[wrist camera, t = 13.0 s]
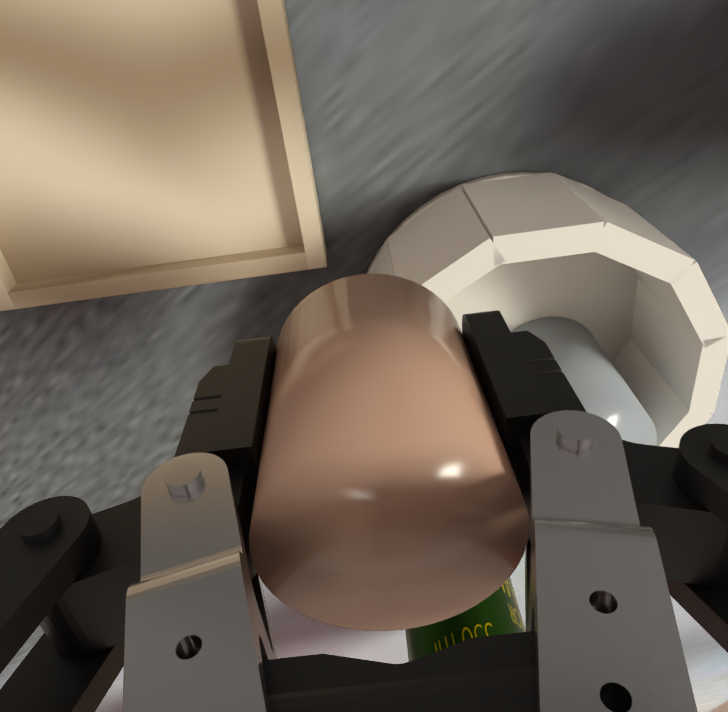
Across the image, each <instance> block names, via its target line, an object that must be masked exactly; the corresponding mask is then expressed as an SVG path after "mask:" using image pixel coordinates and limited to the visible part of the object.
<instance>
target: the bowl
mask: <svg viewBox="0 0 728 712" xmlns="http://www.w3.org/2000/svg"><path fill="white" fill-rule="evenodd" d="M366 274H387V275H393V276H398V277H402V278H405V279H408V280H411V281H413V282H416V283H418V284H420V285H422V286H424V287H425V288H427V289H428V290H430V291H432V292H433V293H434V294H435V295H437V296H438V297H439V298H440V299H441V300H442V301H443V302H444V303H445V304H446V305H447V306H448V308H449V309H450V310H451V312H452V313H453V315H454V316H455V318H456V320H457V322H458V325H459V327H460V329H461V332H462V316H463V314H470V313H479V312H487V311H496V310H499V311H500V312H501V314H502V316H503V318H504V320H505V322H506V324H507V326H508V328H509V330H510V332H512V331H513V330H514V329H516V328H517V327H519V326H521V325H522V324H524V323H527V322H529V321H531V320H535V319H538V318H543V317H552V316H554V317H565V318H569V319H572V320H575V321H577V322H579V323H581V324H582V325H584V326H585V327H586V328H587V329H588V330H589V331H590V332H591V334H592V335H593V336H594V338H595V339H596V341H597V342H598V344H599V345H600V346H601V348H602V349H603V351H604V352H605V354H606V355H607V356H608V358H609V359H610V361H611V362H612V364H613V365H614V366H615V368H616V369H617V371H618V372H619V374H620V375H621V376H622V378H623V379H624V381H625V382H626V384H627V385H628V387H629V388H630V389H631V391H632V392H633V394H634V395H635V397H636V398H637V399H638V401H639V402H640V404H641V405H642V407H643V408H644V409H645V411H646V412H647V414H648V415H649V417H650V418H651V419H652V421H653V423H654V425H655V428H656V432H657V444H656V446H663V447H673V448H678V447H679V442H680V439H681V437H682V436H683V434H684V433H685V432H687V431H688V430H689V429H691V428H693V427H696V426H700V425H704V424H705V423H706V422H707V421H708V420H709V419H710V418H711V416H712V413H714V411H715V407H716V402H717V398H718V394H719V390H720V386H721V381H722V377H723V373H724V369H725V364H726V360H727V356H728V324H727V322H726V320H725V318H724V316H723V314H722V312H721V310H720V308H719V306H718V304H717V302H716V300H715V298H714V296H713V294H712V292H711V290H710V288H709V286H708V284H707V281H706V279H705V277H704V275H703V273H702V271H701V269H700V267H699V265H698V263H697V262H696V261H695V260H694V259H693V258H692V257H690V256H689V255H688V254H687V253H685V252H684V251H683V250H682V249H681V248H679V247H678V246H677V245H676V244H674V243H673V242H672V241H671V240H669V239H668V238H667V237H666V236H664V235H663V234H662V233H661V232H659V231H658V230H657V229H656V228H654V227H653V226H652V225H651V224H649V223H648V222H647V221H646V220H644V219H643V218H642V217H641V216H639V215H638V214H637V213H636V212H635V211H633V210H632V209H631V208H630V207H628V206H627V205H625V204H623V203H621V202H618V201H616V200H614V199H612V198H609V197H607V196H605V195H603V194H602V193H601V192H599V191H597V190H595V189H593V188H592V187H590V186H588V185H586V184H584V183H581V182H579V181H576V180H573V179H570V178H567V177H564V176H560V175H558V174H556V173H553V174H552V173H551V172H549V173H542V172H526V171H522V172H509V173H499V174H495V175H490V176H485V177H480V178H477V179H474V180H471V181H468V182H465V183H462V184H459V185H457V186H455V187H453V188H451V189H449V190H447V191H445V192H443V193H440V194H439V195H437V196H435V197H434V198H432V199H431V200H429V201H428V202H426V203H424V204H423V205H421V206H420V207H419V208H418V209H416V210H415V211H414V212H413V213H411V214H410V215H409V216H408V217H407V218H405V219H404V220H403V221H402V222H401V223H400V224H399V225H398V227H397V228H396V229H395V230H394V231H393V232H392V233H391V234H390V235H389V236H388V238H387V239H386V240H385V242H384V243H383V245H382V246H381V247H380V249H379V250H378V252H377V253H376V255H375V257H374V259H373V261H372V263H371V264H370V266H369V268H368V271H367V273H366Z"/></svg>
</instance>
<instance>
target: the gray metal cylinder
mask: <svg viewBox="0 0 728 712" xmlns="http://www.w3.org/2000/svg"><path fill="white" fill-rule="evenodd" d="M519 331H529V332H530V333H532V334H534V335H535V336H537V337H538V338H540V339H541V340H543V341H544V342H545V343H546V344H547V346H548V348H549V349H550V351H551V353H552V354H553V356H554V360H556V361H557V363H558V364H559V366H560V368H561V372H563V373H564V375H565V376H566V378H567V380H568V381H569V383H570V385H571V386H572V388H573V390H574V391H575V393H576V395H577V396H578V398H579V400H580V401H581V403H582V405H583V407H584V408H585V410H586V412H588V413H591V414H594V415H597V416H599V417H601V418H603V419H605V420H607V421H608V422H610V423H611V424H612V425H613V426H614V427H615V428H616V429H617V430H618V432H619V433H620V436H621V438H622V440H625V441H629V442H633V443H638V444H644V445H654V446H656V444H657V432H656V428H655V425H654V423H653V421H652V419H651V418H650V417H649V415H648V414H647V412H646V411H645V409H644V408H643V407H642V405H641V404H640V402H639V401H638V399H637V398H636V397H635V395H634V394H633V392H632V391H631V389H630V388H629V387H628V385H627V384H626V382H625V381H624V379H623V378H622V376H621V375H620V374H619V372H618V371H617V369H616V368H615V366H614V365H613V364H612V362H611V361H610V359H609V358H608V356H607V355H606V354H605V352H604V351H603V349H602V348H601V346H600V345H599V344H598V342H597V341H596V339H595V338H594V336H593V335H592V334H591V332H590V331H589V330H588V329H587V328H586V327H585V326H584V325H582V324H581V323H579V322H577V321H575V320H572V319H569V318H565V317H554V316H552V317H543V318H538V319H535V320H531V321H529V322H527V323H524V324H522V325H521V326H519V327H517V328H516V329H514V330H513V331H512V332H519Z"/></svg>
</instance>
